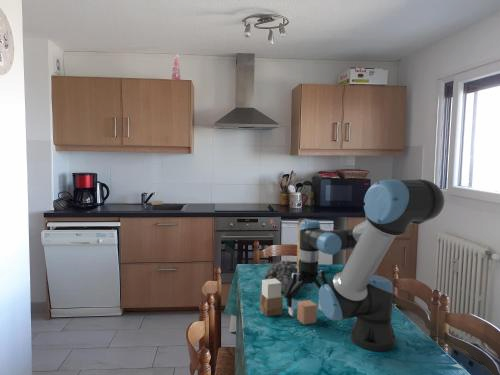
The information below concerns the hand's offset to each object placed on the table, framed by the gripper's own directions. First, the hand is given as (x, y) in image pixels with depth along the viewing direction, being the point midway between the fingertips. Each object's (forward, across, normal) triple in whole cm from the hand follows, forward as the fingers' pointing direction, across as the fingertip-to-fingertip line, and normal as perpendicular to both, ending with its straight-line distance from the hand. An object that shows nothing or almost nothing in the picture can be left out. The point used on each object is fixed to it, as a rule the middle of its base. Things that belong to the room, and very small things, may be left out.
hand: (306, 312), depth 149 cm
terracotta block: (+3, 0, 0) cm, 3 cm away
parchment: (+4, -26, -48) cm, 55 cm away
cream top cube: (-4, +10, -12) cm, 16 cm away
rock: (+4, -6, -32) cm, 33 cm away
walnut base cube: (+3, +10, -12) cm, 16 cm away
